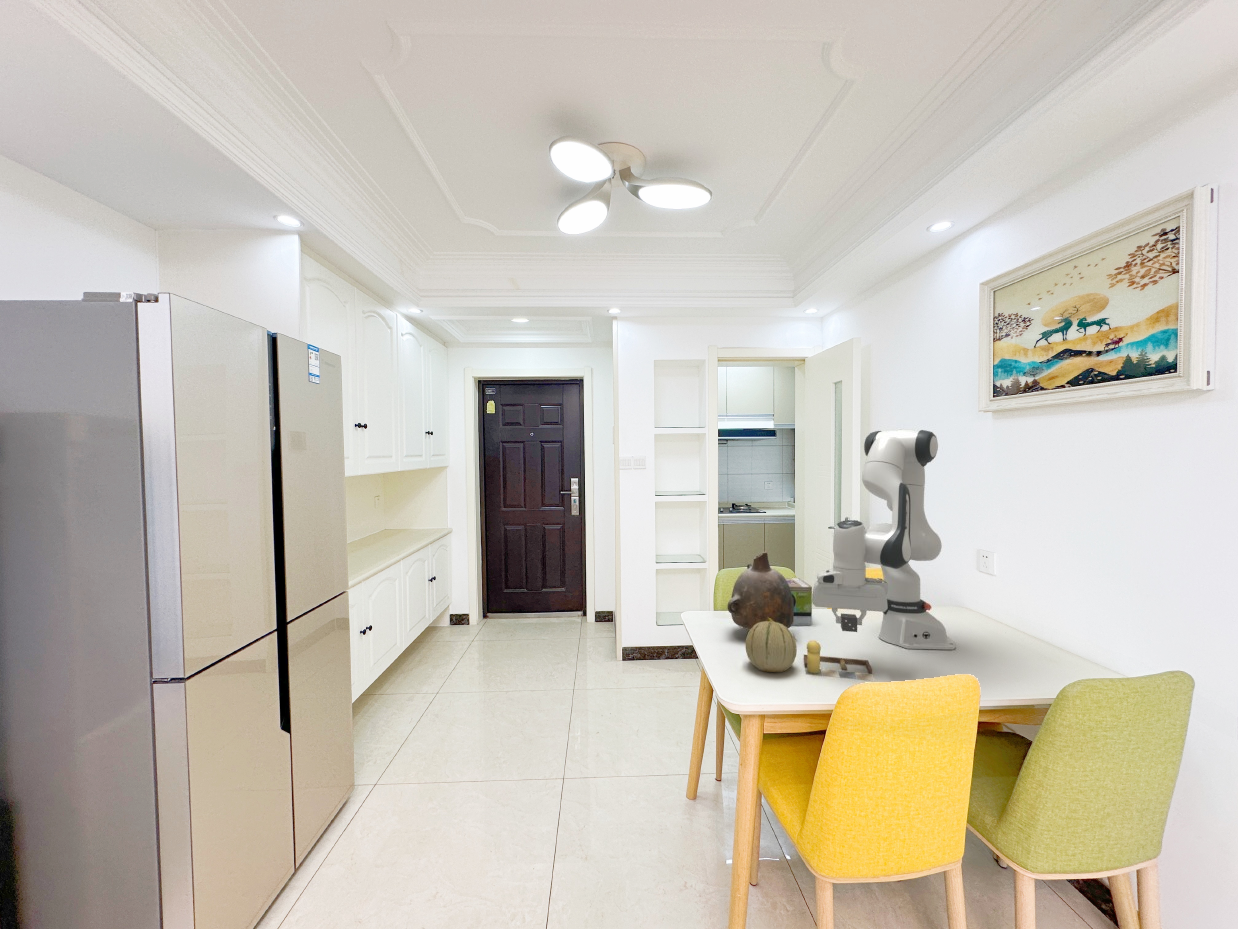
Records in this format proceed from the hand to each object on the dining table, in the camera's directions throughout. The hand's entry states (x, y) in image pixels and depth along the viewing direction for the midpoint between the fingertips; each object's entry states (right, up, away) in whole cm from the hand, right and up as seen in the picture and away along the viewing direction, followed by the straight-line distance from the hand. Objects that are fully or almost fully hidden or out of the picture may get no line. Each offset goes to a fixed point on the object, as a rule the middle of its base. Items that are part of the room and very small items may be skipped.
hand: (848, 623), depth 157 cm
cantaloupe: (-22, -14, +1) cm, 27 cm away
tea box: (0, -13, +50) cm, 51 cm away
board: (-4, -14, -2) cm, 14 cm away
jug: (-17, -14, +32) cm, 38 cm away
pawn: (-11, -13, -3) cm, 17 cm away
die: (0, -2, 0) cm, 2 cm away
